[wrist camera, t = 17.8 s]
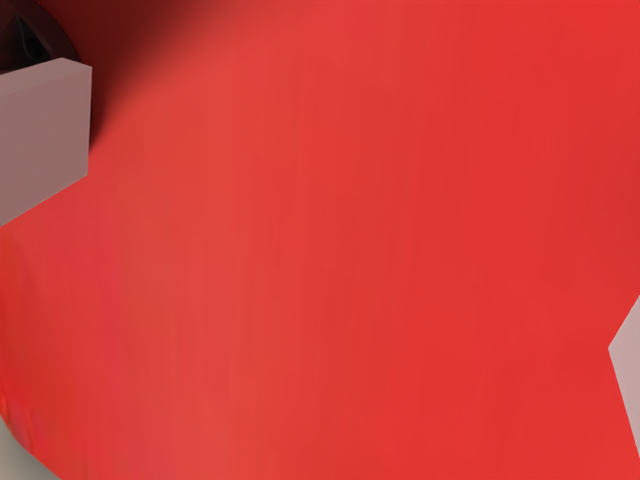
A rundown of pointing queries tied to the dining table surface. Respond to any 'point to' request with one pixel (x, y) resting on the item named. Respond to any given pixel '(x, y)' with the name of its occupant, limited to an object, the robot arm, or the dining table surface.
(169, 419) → the dining table surface
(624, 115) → the dining table surface
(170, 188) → the dining table surface
